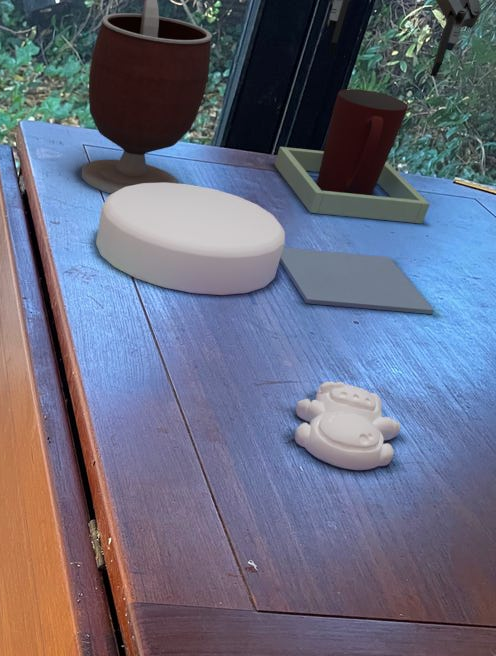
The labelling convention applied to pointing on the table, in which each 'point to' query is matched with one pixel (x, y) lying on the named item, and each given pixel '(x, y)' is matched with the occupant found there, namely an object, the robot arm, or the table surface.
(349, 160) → the mug
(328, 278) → the mat
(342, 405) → the astronaut figurine
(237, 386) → the table surface
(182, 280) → the container
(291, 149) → the green rectangular frame
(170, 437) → the table surface
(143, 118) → the mate gourd
